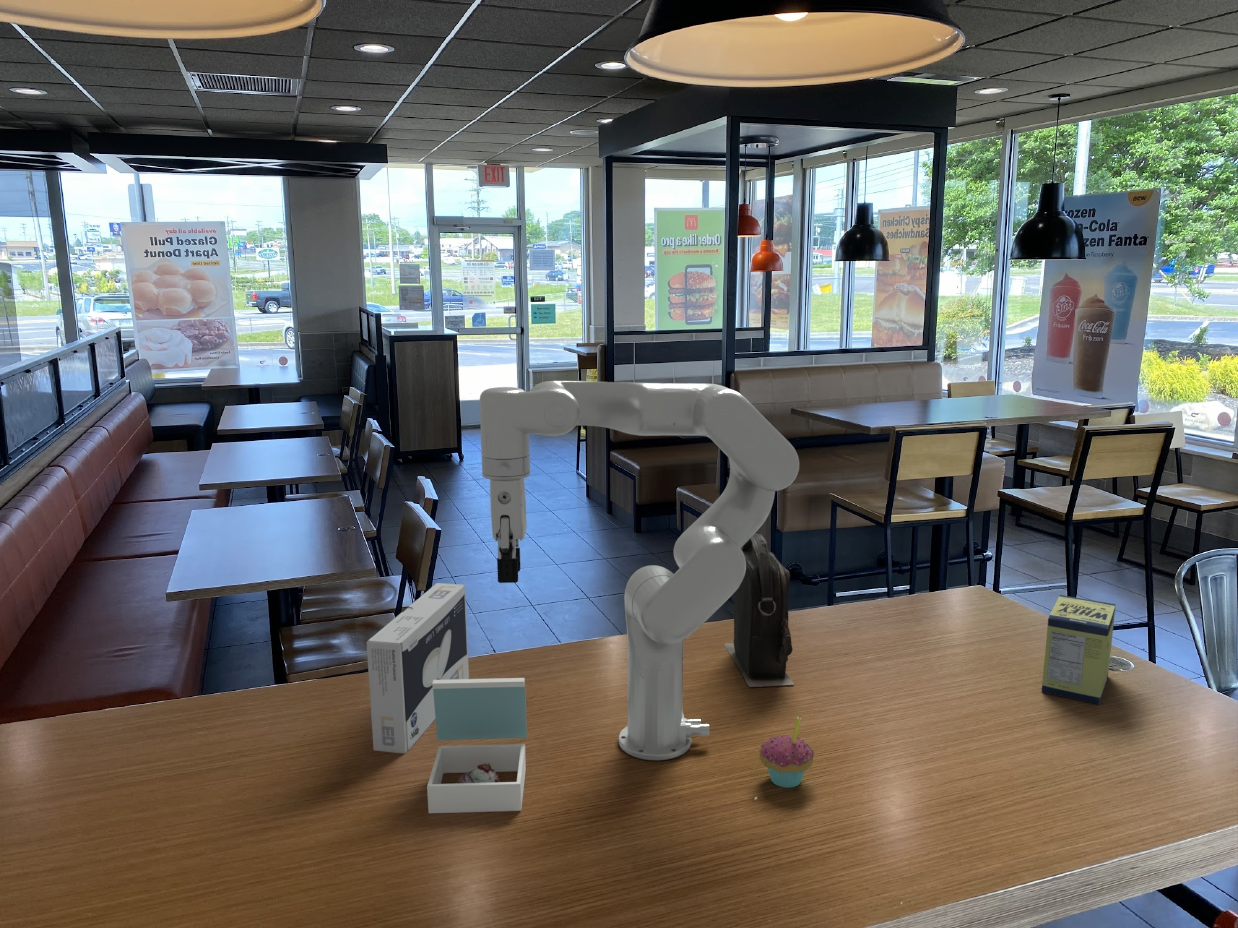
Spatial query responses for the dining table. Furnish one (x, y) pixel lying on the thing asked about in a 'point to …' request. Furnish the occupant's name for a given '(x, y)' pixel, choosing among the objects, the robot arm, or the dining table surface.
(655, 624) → the robot arm
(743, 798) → the dining table surface
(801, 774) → the cupcake
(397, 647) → the packaging
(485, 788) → the box
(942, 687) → the dining table surface
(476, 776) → the pastry
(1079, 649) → the protein box
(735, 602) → the shoulder bag
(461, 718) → the lid
